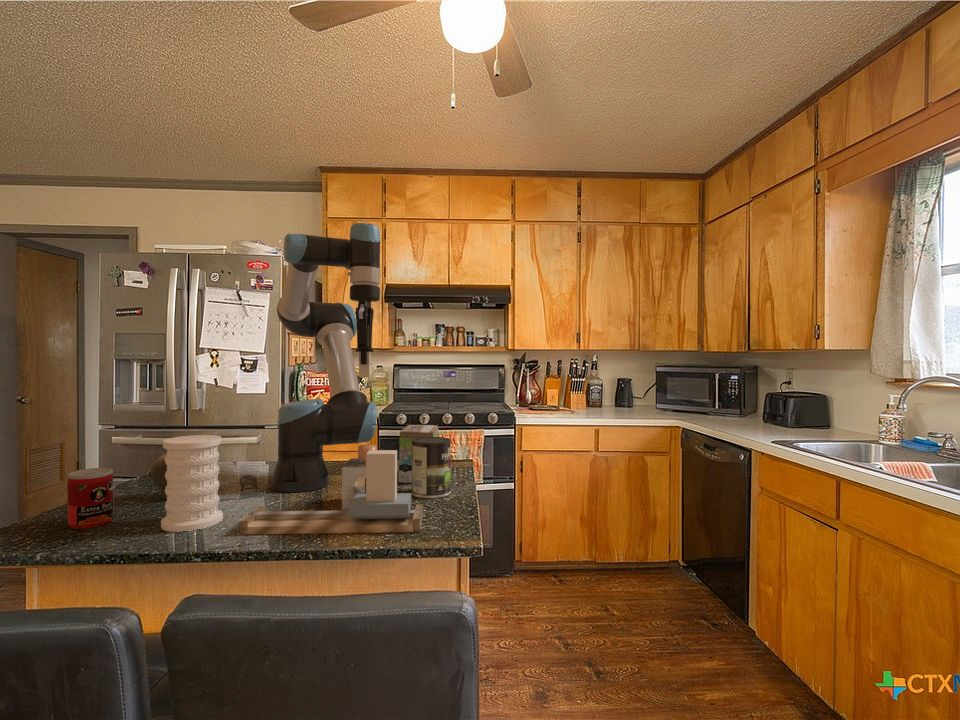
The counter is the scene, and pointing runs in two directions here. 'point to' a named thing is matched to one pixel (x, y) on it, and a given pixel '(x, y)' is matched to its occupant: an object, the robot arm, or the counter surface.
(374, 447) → the plunger
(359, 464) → the box with ball knob
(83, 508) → the canned food
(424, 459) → the coffee can
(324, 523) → the rail track
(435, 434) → the tea box
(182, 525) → the decorative container
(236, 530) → the counter surface
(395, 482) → the carriage
